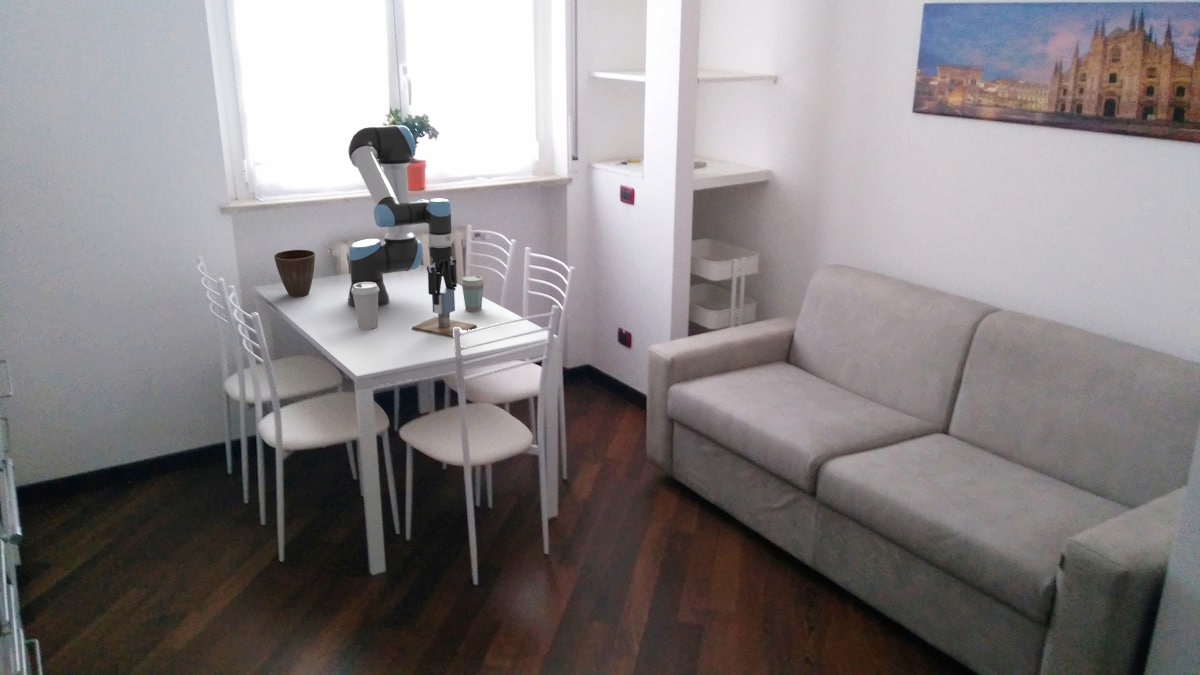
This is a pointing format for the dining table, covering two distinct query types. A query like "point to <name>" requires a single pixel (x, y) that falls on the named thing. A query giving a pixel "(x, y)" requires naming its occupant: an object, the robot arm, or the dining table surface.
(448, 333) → the post board
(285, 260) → the plant pot
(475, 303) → the coffee cup
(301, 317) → the dining table surface
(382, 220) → the robot arm
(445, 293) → the slate blue box
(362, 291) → the coffee cup
